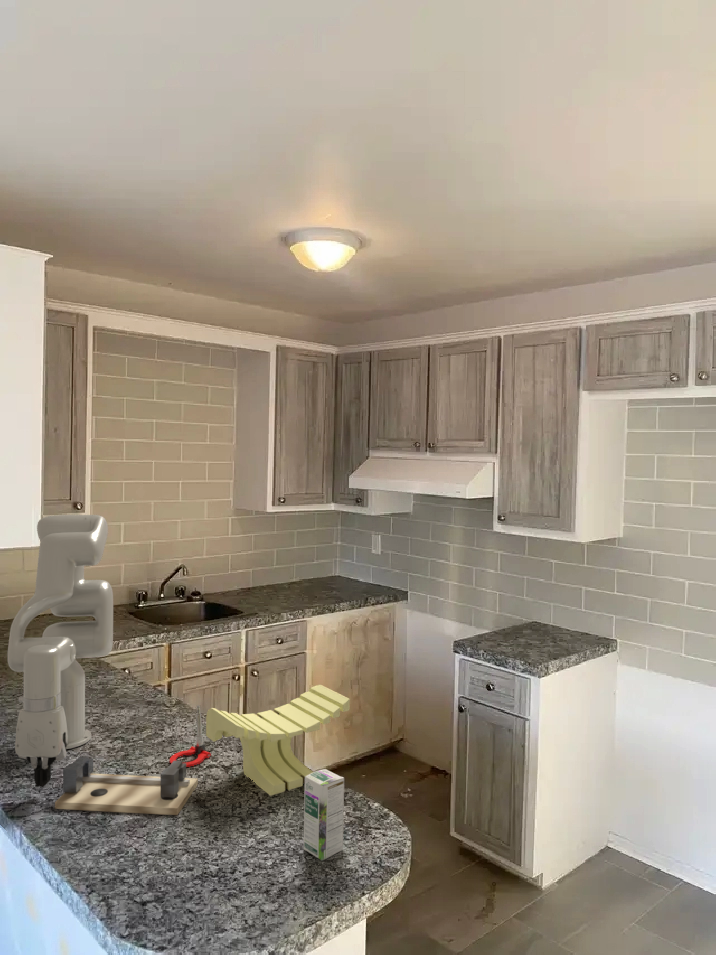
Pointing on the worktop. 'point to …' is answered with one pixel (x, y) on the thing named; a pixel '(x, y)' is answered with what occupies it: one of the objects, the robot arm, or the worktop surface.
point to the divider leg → (76, 774)
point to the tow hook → (198, 748)
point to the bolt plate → (133, 792)
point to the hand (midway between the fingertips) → (42, 784)
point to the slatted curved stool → (277, 736)
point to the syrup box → (323, 813)
